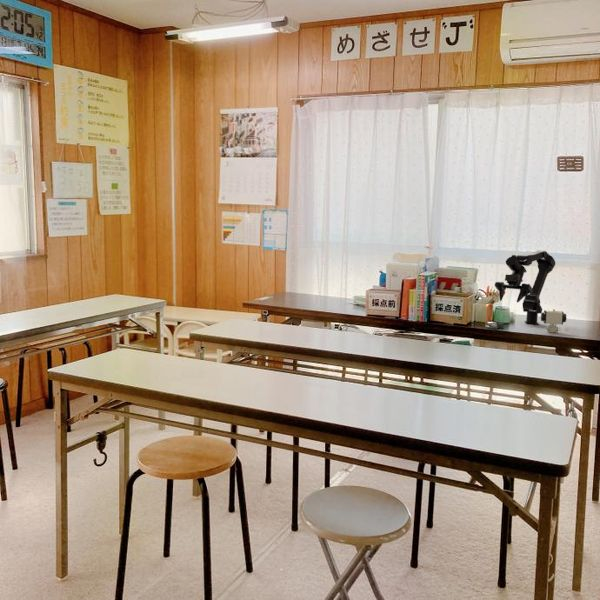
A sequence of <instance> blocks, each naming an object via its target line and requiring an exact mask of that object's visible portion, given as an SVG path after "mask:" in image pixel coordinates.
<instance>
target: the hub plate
mask: <svg viewBox="0 0 600 600" xmlns="http://www.w3.org/2000/svg"><path fill="white" fill-rule="evenodd" d="M485 327H486V328H485ZM484 328H485V329H488V328H490V329H489V330H499V329H500V328H499V326H496V327H491V326H489V325H486V324H485V325H484ZM498 328H499V329H498Z"/></svg>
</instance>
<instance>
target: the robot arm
mask: <svg viewBox="0 0 600 600" xmlns="http://www.w3.org/2000/svg"><path fill="white" fill-rule="evenodd" d="M535 261H536V263H537V268H538V272H537V274H536V277H535V280H534V283H533V286H531V284H530V283H523V282H524V280H523V277H524V275H525V273H527V269H526V267H529V266H530V265H532V263H533V262H535ZM505 264H506V266H507V267H508V268H509V270H510V271H511V272H512V273H511V274H505V277H504V281H505V282H506V283H507V284H505V283H504V281H495V282H494V287H495V288H496V290H497V291H499V301H500V302H501V301H503V298H504V295H505V293H506V289H509V290H511V289H512V290H519V293H518V296H517V299H516V303H519V302H521V300H523V302H522V311H523V313H525V312H526V320H524V323H525V322H526V324H528V325H539V324H540V323H539V322H538V316H539V315H538V314H541V313H543V307H542V306H541V299H540V296H541V293H542V290H543V287H544V286H545V282H546V279H547V276H548V274H549V273H551V272H552V271H553V270H554V268H555V266H556V261H555V258H554V256H552V255H550V254H549V253H548V252H547V251H546V250H537V251H534V252H530V253H528V254H527V253H526V254H517V255H516V254H511V256H509V257H508V258H507V259H506V260H505ZM525 266H526V267H525ZM523 298H524V299H523Z"/></svg>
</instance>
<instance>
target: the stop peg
mask: <svg viewBox="0 0 600 600" xmlns="http://www.w3.org/2000/svg"><path fill="white" fill-rule="evenodd" d="M497 326H499V329H504V322H497Z"/></svg>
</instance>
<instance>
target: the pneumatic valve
mask: <svg viewBox="0 0 600 600" xmlns="http://www.w3.org/2000/svg"><path fill="white" fill-rule="evenodd" d="M540 321H541V322H543V323H544V325H545V324H549V325H547V327H546V332H548V333H549V332H559V327H558V326H557V325H562V326H563V324H564V323H567V313H564V311H563V310H556V309H555V308H553V309H552V310H548V309H547V310H546V309H544V310H543V311H542V313H540Z"/></svg>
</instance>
